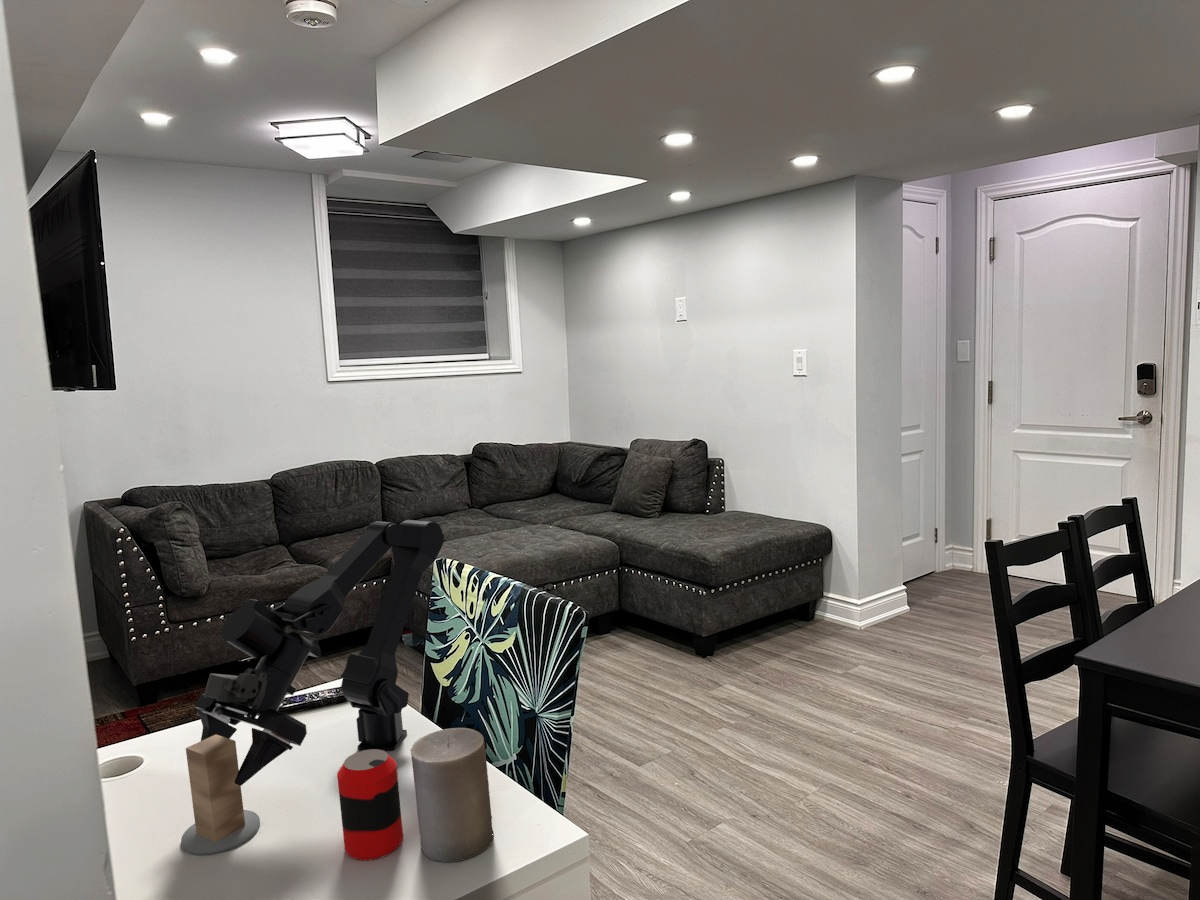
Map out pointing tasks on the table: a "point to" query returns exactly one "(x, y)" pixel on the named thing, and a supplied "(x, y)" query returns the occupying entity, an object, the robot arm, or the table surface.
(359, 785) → the soda can
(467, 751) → the pillar candle
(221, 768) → the walnut block
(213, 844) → the charcoal coaster
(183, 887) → the table surface
